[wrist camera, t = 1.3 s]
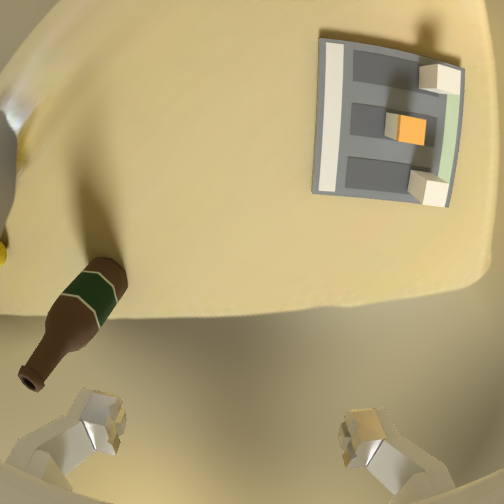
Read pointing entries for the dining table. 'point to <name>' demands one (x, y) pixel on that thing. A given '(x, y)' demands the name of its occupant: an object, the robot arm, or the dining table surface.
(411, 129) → the block
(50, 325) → the beer bottle
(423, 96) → the panel
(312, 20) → the dining table surface
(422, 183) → the block
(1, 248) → the lemon
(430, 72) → the block
